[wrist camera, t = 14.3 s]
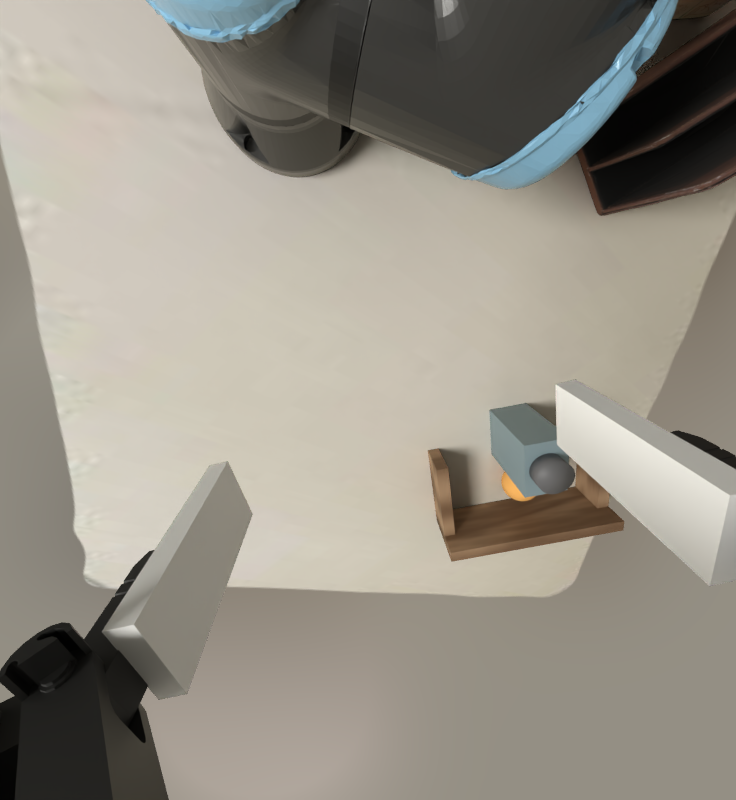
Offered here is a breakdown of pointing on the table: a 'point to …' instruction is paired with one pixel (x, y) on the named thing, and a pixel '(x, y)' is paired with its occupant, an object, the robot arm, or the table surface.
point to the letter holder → (669, 128)
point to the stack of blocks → (697, 8)
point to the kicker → (529, 451)
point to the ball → (512, 489)
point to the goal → (520, 516)
